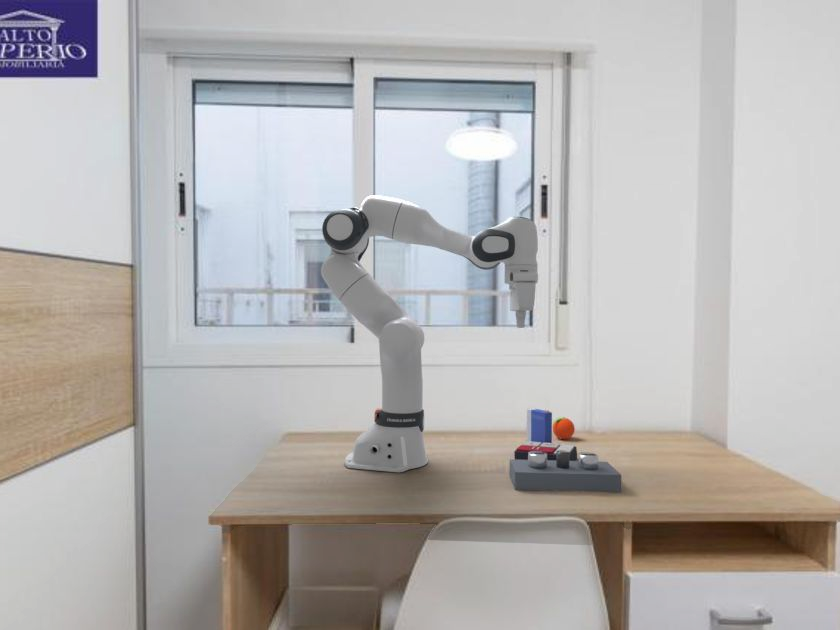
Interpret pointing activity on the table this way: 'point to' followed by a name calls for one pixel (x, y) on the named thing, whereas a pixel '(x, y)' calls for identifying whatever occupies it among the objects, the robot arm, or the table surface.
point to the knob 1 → (537, 460)
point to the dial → (562, 459)
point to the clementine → (563, 428)
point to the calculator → (544, 450)
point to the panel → (565, 477)
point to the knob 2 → (588, 461)
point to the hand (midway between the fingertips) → (520, 327)
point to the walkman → (539, 425)
